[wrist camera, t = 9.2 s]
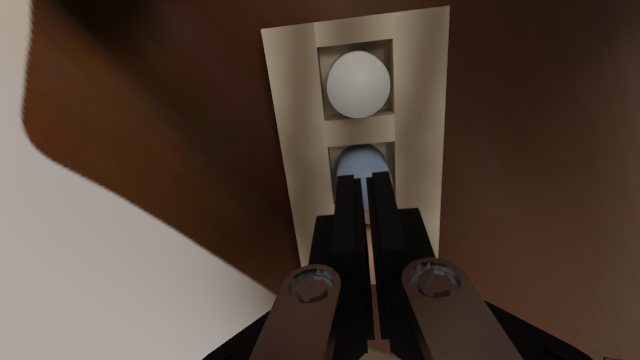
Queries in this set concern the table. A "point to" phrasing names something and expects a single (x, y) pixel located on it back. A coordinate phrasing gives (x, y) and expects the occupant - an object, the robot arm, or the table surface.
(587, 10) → the table surface
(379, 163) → the button slate
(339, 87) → the button ivory
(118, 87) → the table surface
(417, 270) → the robot arm
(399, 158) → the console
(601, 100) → the table surface
